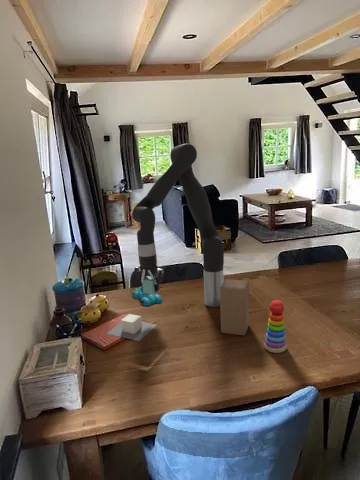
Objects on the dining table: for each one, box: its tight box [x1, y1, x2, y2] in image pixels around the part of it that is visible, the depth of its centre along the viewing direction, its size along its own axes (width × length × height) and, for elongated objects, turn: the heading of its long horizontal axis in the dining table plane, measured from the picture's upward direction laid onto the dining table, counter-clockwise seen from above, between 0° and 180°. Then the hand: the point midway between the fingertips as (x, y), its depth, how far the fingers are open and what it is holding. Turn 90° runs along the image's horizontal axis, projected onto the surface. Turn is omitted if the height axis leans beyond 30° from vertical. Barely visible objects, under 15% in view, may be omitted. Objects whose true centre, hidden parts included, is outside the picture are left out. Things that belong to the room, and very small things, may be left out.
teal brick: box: [141, 276, 157, 294], centre depth 158 cm, size 5×5×6 cm
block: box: [219, 278, 250, 336], centre depth 147 cm, size 10×10×20 cm
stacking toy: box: [263, 299, 287, 354], centre depth 132 cm, size 8×8×19 cm
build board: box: [106, 321, 158, 342], centre depth 152 cm, size 16×14×1 cm
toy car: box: [132, 285, 163, 307], centre depth 183 cm, size 11×18×7 cm, turn 29°
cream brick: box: [120, 313, 143, 334], centre depth 151 cm, size 6×6×5 cm
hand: (151, 290), depth 159 cm, fingers closed on teal brick, 5 cm apart
